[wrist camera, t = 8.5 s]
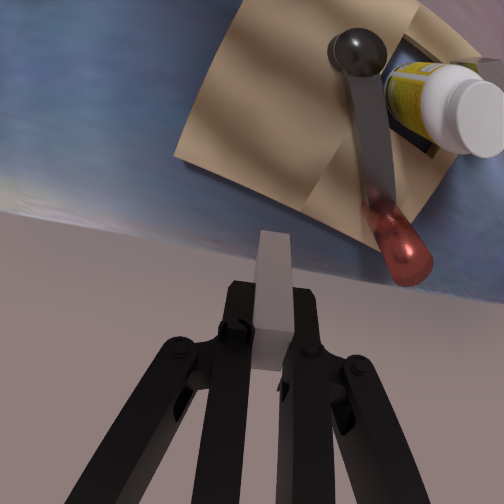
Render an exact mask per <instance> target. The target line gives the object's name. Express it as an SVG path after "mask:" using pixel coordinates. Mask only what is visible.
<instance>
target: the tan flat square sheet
mask: <svg viewBox="0 0 504 504" xmlns="http://www.w3.org/2000/svg"><path fill="white" fill-rule="evenodd" d="M352 28H364V29H368V30H370V31H372V32H374V33H375V34H377V35H378V36H379V37H380V38H381V40H382V41H383V42H384V44H385V46H386V49H387V62H386V65H387V63H388V62H389V60H390V58H391V56H392V55H393V53H394V51H395V49H396V47H397V46H398V44H399V42H400V40H401V39H402V38H403V39H405V40H406V41H408V42H409V43H410V44H412V45H413V46H414V47H416V48H417V49H418V50H420V51H421V52H422V53H424V54H425V55H426V56H427V57H429V58H430V59H431V60H432V61H434V62H435V63H441V64H451V62H450V61H453V60H459V59H464V58H470V57H482V56H481V55H480V54H479V53H478V52H477V51H476V50H475V49H474V48H473V47H472V46H471V45H470V44H469V43H468V42H467V41H465V40H464V39H463V38H462V37H461V36H460V35H459V34H458V33H457V32H456V31H454V30H453V29H452V28H451V27H450V26H449V25H448V24H446V23H445V22H444V21H443V20H442V19H440V18H439V17H438V16H437V15H435V14H434V13H433V12H432V11H430V10H429V9H428V8H426V7H425V6H424V5H422V4H421V3H420V2H418V1H417V0H244V1H243V3H242V4H241V6H240V8H239V10H238V12H237V14H236V15H235V17H234V19H233V21H232V23H231V25H230V27H229V29H228V31H227V33H226V35H225V37H224V39H223V41H222V43H221V45H220V47H219V49H218V51H217V53H216V55H215V57H214V59H213V62H212V64H211V66H210V68H209V70H208V72H207V75H206V77H205V79H204V81H203V84H202V86H201V88H200V91H199V93H198V95H197V98H196V100H195V102H194V105H193V107H192V110H191V112H190V114H189V117H188V119H187V122H186V124H185V127H184V130H183V132H182V135H181V137H180V140H179V143H178V145H177V148H176V151H175V153H174V156H175V157H177V158H180V159H182V160H185V161H187V162H189V163H192V164H194V165H197V166H199V167H201V168H204V169H206V170H208V171H211V172H213V173H216V174H218V175H220V176H222V177H225V178H227V179H229V180H232V181H234V182H236V183H238V184H241V185H243V186H245V187H247V188H250V189H252V190H254V191H256V192H259V193H261V194H263V195H265V196H267V197H269V198H272V199H274V200H276V201H278V202H280V203H282V204H285V205H287V206H289V207H291V208H293V209H295V210H297V211H299V212H301V213H303V214H306V215H308V216H310V217H312V218H314V219H316V220H318V221H320V222H322V223H324V224H326V225H328V226H330V227H332V228H334V229H336V230H338V231H340V232H342V233H344V234H346V235H348V236H350V237H352V238H354V239H356V240H358V241H360V242H362V243H364V244H366V245H367V246H369V247H371V248H373V249H375V250H377V251H379V252H381V251H380V249H379V247H378V245H377V242H376V240H375V238H374V236H373V234H372V232H371V230H370V228H369V226H368V224H367V222H366V220H365V218H364V216H363V214H362V211H361V202H362V200H363V193H362V185H361V177H360V170H359V163H358V156H357V150H356V144H355V138H354V132H353V126H352V121H351V116H350V110H349V105H348V101H347V96H346V91H345V87H344V82H343V78H342V74H341V69H340V66H339V65H338V63H337V62H336V60H335V57H334V52H333V48H334V43H335V40H336V39H337V37H338V36H339V35H340V34H341V33H343V32H344V31H346V30H349V29H352ZM482 58H483V57H482ZM386 65H385V67H386ZM385 67H384V68H383V70H384V69H385ZM383 70H382V71H381V72H380V75H381V74H382V72H383ZM390 136H391V144H392V153H393V163H394V174H395V187H396V204H397V205H398V207H399V208H400V209H401V211H402V212H403V214H404V215H405V216H406V218H407V219H408V221H409V222H410V224H411V223H412V222H413V220H414V219H415V218H416V216H417V215H418V213H419V212H420V211H421V209H422V208H423V206H424V205H425V204H426V202H427V201H428V199H429V198H430V196H431V195H432V194H433V192H434V191H435V189H436V188H437V186H438V185H439V183H440V182H441V180H442V179H443V177H444V176H445V174H446V173H447V171H448V170H449V168H450V167H451V165H452V163H453V162H454V160H455V159H456V157H457V156H458V154H455V153H451V152H449V151H447V150H445V149H443V148H441V147H439V146H438V145H436V144H434V143H433V142H432V144H431V146H430V147H429V149H428V150H427V152H426V153H423V152H422V151H421V150H419V149H418V148H417V147H415V146H414V145H413V144H411V143H410V142H409V141H407V140H406V139H405V138H403V137H402V136H400V135H399V134H397V133H396V132H395V131H393V130H392V129H390Z"/></svg>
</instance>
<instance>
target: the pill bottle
mask: <svg viewBox="0 0 504 504" xmlns="http://www.w3.org/2000/svg"><path fill="white" fill-rule="evenodd" d="M384 96H385V102H386V105H387V108H388V110H389V112H390V113H391V115H392V116H393V117H394V118H395V120H397V121H398V122H399V123H400V124H401V125H403V126H405V127H406V128H408V129H410V130H412V131H413V132H415V133H417V134H419V135H421V136H423V137H424V138H426V139H428V140H429V141H431V142H433V143H434V144H436V145H438V146H439V147H441V148H443V149H445V150H447V151H449V152H451V153H455V154H470V153H471V154H473V155H475V156H477V157H481V158H491V157H494V156H496V155H498V154H499V153H500V152H501V151H502V150H503V149H504V93H503V91H502V90H501V89H500V88H499V87H497V86H496V85H494V84H493V83H490V82H487V81H484V80H483V79H482V78H481V77H480V76H479V75H478V74H477V73H475V72H474V71H472V70H471V69H469V68H466V67H464V66H460V65H454V64H441V63H426V62H407V63H403V64H401V65H399V66H397V67H396V68H394V69H393V70H392V71H391V72H390V74H389V75H388V77H387V79H386V82H385V86H384Z"/></svg>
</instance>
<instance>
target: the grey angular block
mask: <svg viewBox="0 0 504 504" xmlns="http://www.w3.org/2000/svg"><path fill="white" fill-rule="evenodd" d="M450 62H451V64H454V65H460V66H464V67H466V68H469V69H471V70H472V71H474V72H475V73H477V74H478V75H479V76H480V77H481V78H482V79H483V80H484V81H487V82H490V83H493V84H494V85H496V86H497V87H499V88H500V89H501V90H502V91H503V93H504V68H503V64H502V60H499V59H491V58H482V57H470V58H464V59H459V60H453V61H450Z"/></svg>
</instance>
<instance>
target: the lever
mask: <svg viewBox="0 0 504 504" xmlns="http://www.w3.org/2000/svg"><path fill="white" fill-rule="evenodd" d="M333 52H334V57H335V60H336V62H337V63H338V65H339V66H340V69H341V74H342V78H343V82H344V87H345V91H346V96H347V101H348V105H349V110H350V116H351V121H352V126H353V132H354V138H355V144H356V150H357V156H358V163H359V170H360V177H361V185H362V193H363V200H362V202H361V211H362V214H363V216H364V218H365V220H366V222H367V224H368V226H369V228H370V230H371V232H372V234H373V236H374V238H375V240H376V242H377V245H378V247H379V249H380V251H381V253H382V255H383V258H384V260H385V262H386V264H387V267H388V269H389V271H390V274H391V276H392V278H393V280H394V282H395V283H396V284H398V285H400V286H404V287H410V286H414V285H417V284H419V283H421V282H422V281H423V280H425V279H426V278H427V277H428V275H429V274H430V272H431V270H432V268H433V257H432V255H431V254H430V252H429V251H428V249H427V247H426V246H425V244H424V243H423V241H422V240H421V238H420V237H419V235H418V234H417V232H416V231H415V229H414V228H413V227H412V225H411V224H410V222H409V221H408V219H407V218H406V216H405V215H404V214H403V212H402V211H401V209H400V208H399V207H398V205H397V204H396V187H395V174H394V163H393V153H392V144H391V136H390V128H389V121H388V114H387V108H386V102H385V96H384V91H383V85H382V80H381V75H380V72H381V71H382V70H383V68H384V67H385V65H386V62H387V49H386V46H385V44H384V42H383V41H382V40H381V38H380V37H379V36H378V35H377V34H375V33H374V32H372V31H370V30H368V29H364V28H352V29H349V30H346V31H344V32H343V33H341V34H340V35H339V36H338V37H337V39H336V40H335V43H334V48H333Z"/></svg>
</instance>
